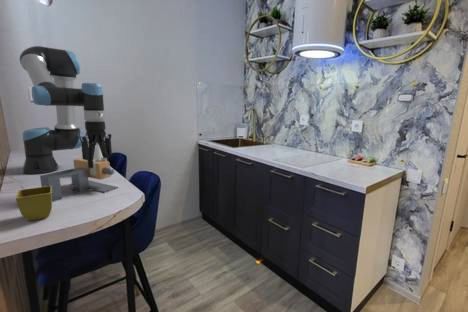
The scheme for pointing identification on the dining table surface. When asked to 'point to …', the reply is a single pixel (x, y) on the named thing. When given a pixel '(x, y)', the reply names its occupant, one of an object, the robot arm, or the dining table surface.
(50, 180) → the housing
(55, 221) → the dining table surface
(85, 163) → the plug
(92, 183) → the mat
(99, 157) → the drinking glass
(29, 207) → the flower pot
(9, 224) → the dining table surface
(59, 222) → the dining table surface
